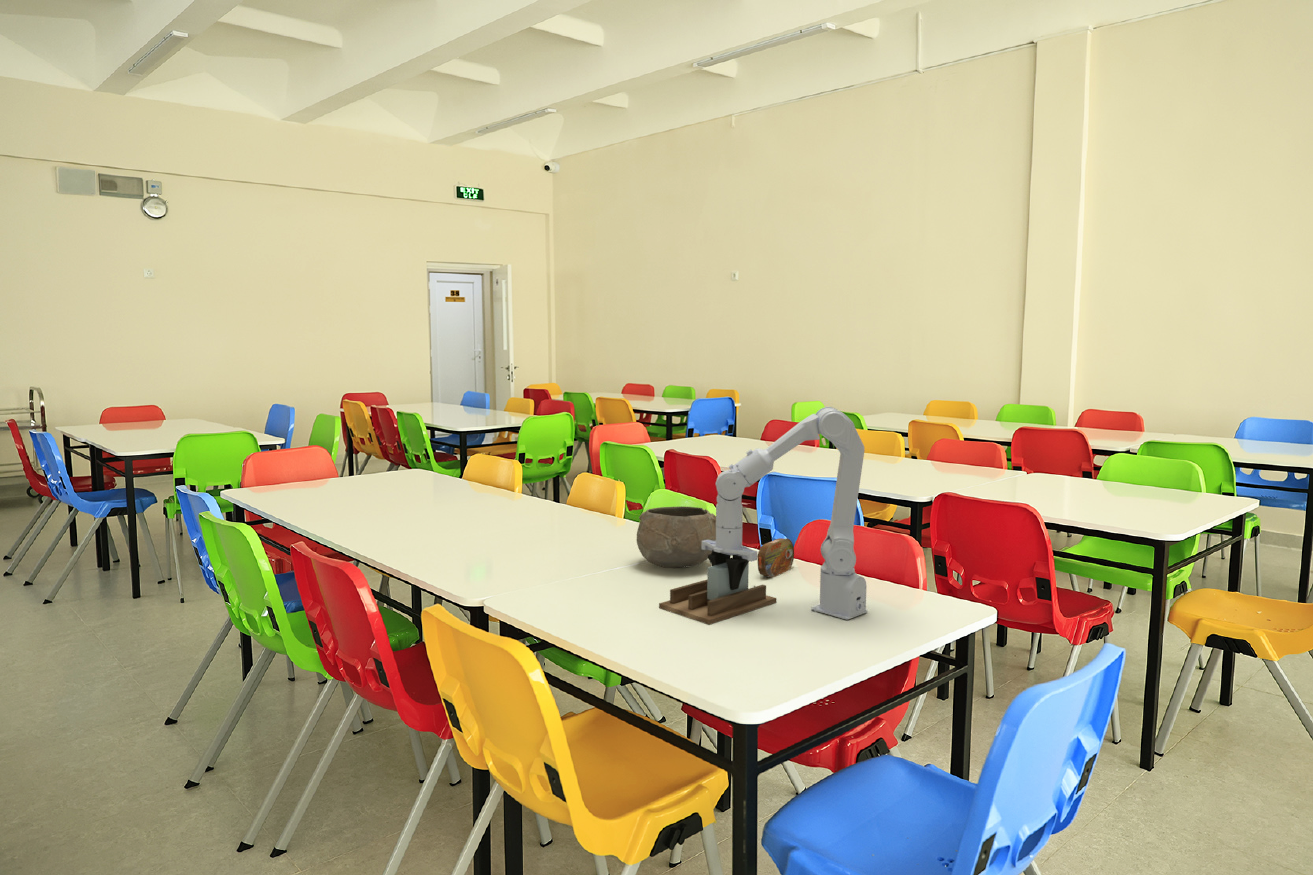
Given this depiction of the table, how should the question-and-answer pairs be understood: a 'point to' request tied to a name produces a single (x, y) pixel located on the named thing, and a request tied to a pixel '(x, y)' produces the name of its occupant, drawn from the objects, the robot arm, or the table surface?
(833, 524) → the robot arm
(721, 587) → the grey stone cuboid
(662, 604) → the rack
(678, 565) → the clay pot
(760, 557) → the tin
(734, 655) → the table surface
